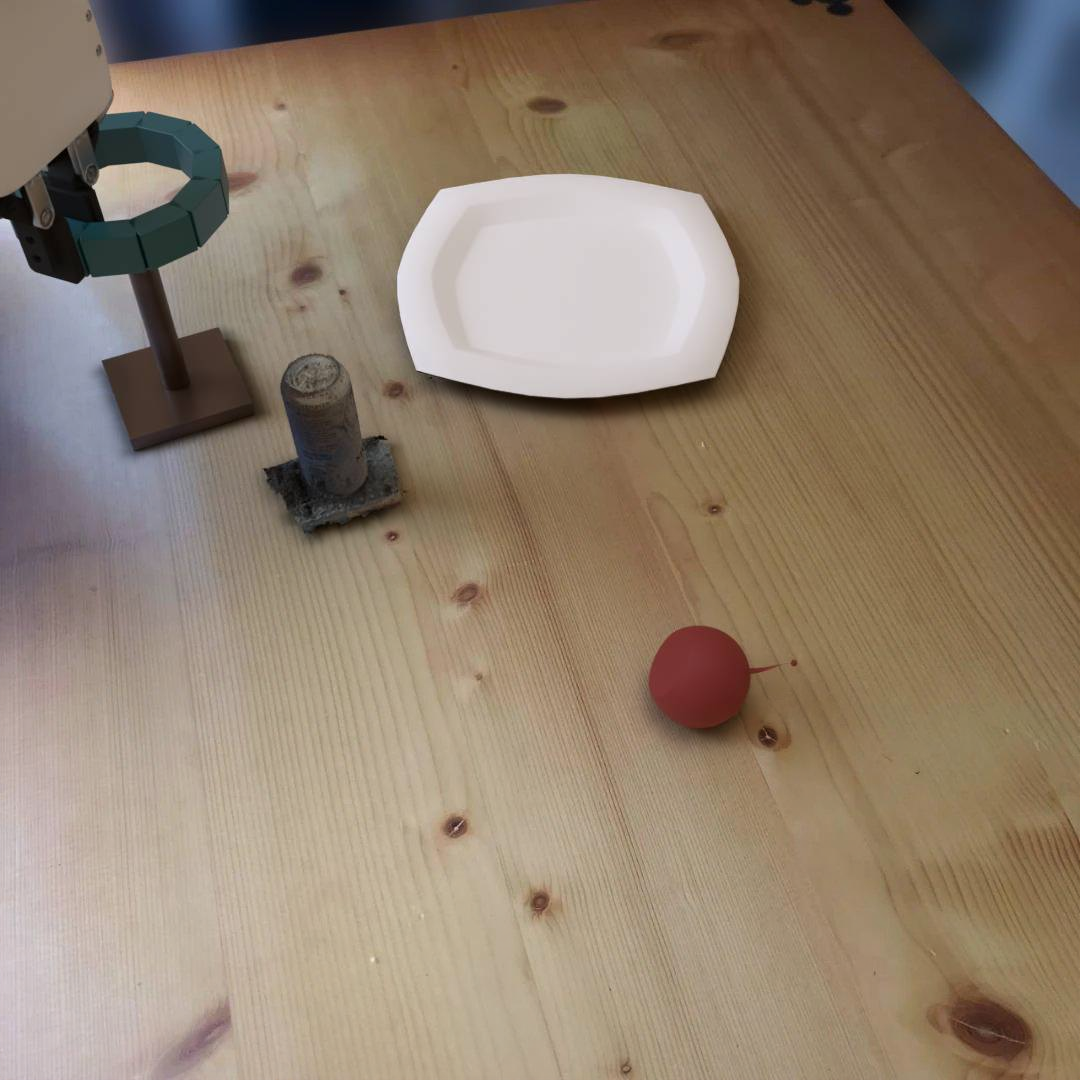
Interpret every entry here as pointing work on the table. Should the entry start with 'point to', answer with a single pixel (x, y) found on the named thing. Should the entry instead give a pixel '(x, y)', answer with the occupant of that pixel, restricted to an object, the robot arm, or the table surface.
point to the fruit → (701, 676)
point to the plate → (568, 287)
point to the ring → (168, 225)
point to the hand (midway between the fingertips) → (72, 259)
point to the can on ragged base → (330, 449)
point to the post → (173, 375)
